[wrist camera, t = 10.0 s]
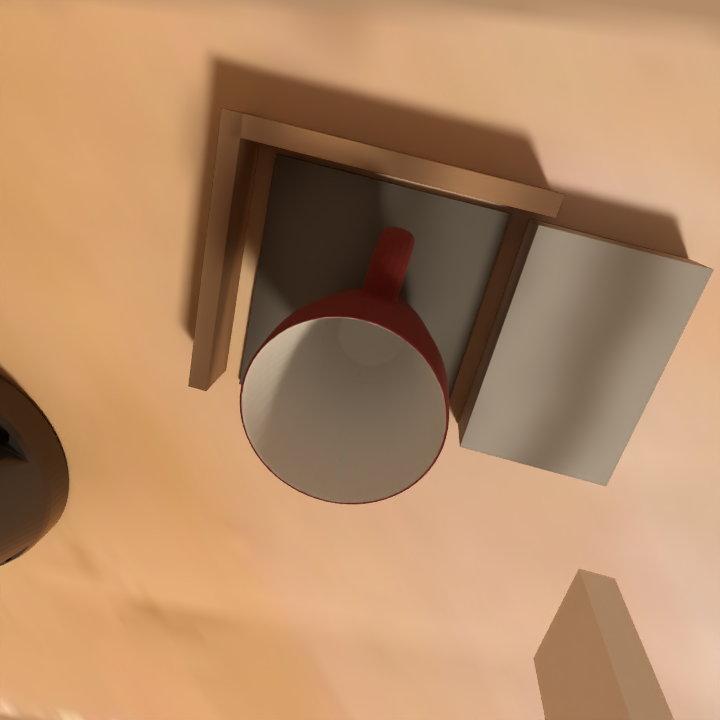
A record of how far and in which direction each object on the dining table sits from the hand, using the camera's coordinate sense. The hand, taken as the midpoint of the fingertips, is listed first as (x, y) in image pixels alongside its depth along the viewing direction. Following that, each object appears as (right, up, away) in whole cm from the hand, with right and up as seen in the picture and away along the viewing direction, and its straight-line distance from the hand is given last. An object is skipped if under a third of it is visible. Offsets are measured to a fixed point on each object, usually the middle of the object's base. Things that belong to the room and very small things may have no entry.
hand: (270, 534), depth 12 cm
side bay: (+6, +7, +17) cm, 19 cm away
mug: (+3, +7, +17) cm, 19 cm away
